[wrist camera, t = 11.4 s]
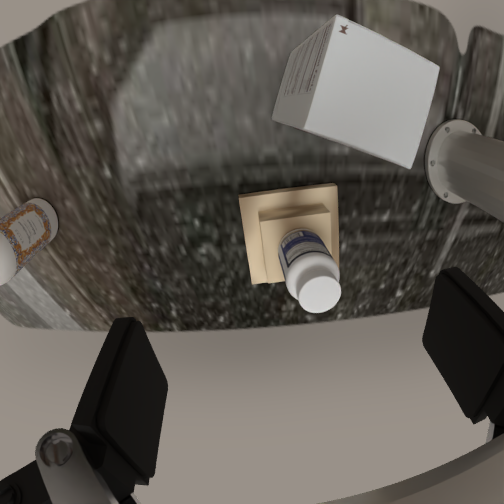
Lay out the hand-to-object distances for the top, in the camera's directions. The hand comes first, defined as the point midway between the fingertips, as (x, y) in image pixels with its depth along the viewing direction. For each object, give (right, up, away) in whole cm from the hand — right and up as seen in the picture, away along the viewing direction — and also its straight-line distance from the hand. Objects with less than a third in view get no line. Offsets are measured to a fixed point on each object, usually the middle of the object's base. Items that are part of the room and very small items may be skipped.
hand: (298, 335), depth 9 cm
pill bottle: (+4, +3, +27) cm, 28 cm away
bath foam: (-32, +7, +29) cm, 44 cm away
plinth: (+4, +5, +32) cm, 32 cm away
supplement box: (+6, +21, +24) cm, 33 cm away
